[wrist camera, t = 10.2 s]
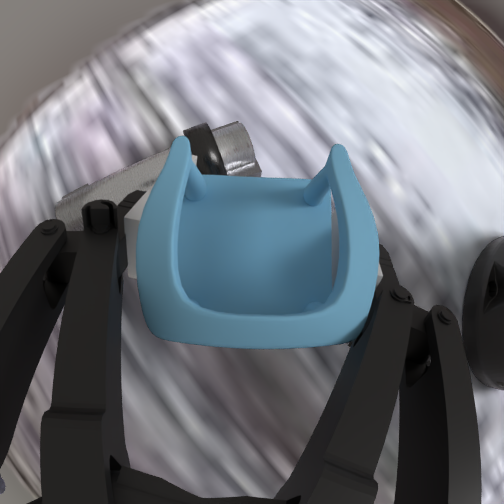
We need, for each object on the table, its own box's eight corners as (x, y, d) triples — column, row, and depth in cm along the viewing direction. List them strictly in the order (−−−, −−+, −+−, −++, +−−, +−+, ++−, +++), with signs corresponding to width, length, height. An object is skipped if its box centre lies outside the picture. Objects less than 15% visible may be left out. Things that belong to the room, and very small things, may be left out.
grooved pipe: (237, 132, 23) (237, 98, 19) (260, 182, 23) (265, 155, 18) (73, 203, 22) (42, 184, 18) (86, 255, 22) (54, 245, 17)
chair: (308, 206, 20) (387, 101, 8) (307, 336, 19) (403, 382, 7) (189, 202, 20) (137, 86, 8) (183, 333, 19) (105, 380, 7)
